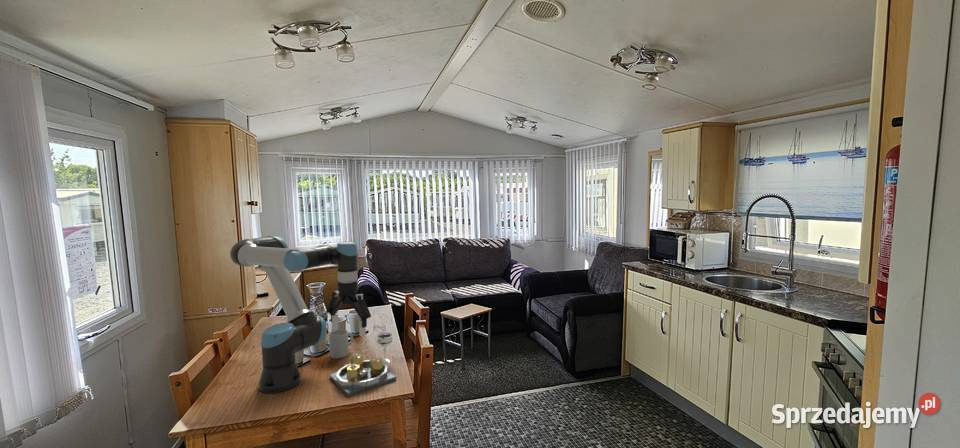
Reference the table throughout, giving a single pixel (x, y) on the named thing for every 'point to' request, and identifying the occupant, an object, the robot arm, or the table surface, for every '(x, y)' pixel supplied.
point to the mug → (339, 343)
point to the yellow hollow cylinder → (353, 373)
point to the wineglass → (384, 343)
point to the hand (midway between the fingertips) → (348, 332)
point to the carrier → (363, 375)
